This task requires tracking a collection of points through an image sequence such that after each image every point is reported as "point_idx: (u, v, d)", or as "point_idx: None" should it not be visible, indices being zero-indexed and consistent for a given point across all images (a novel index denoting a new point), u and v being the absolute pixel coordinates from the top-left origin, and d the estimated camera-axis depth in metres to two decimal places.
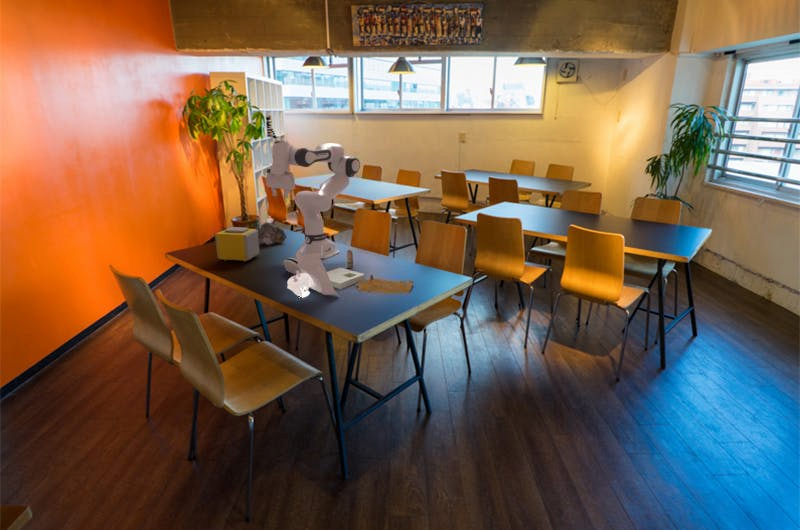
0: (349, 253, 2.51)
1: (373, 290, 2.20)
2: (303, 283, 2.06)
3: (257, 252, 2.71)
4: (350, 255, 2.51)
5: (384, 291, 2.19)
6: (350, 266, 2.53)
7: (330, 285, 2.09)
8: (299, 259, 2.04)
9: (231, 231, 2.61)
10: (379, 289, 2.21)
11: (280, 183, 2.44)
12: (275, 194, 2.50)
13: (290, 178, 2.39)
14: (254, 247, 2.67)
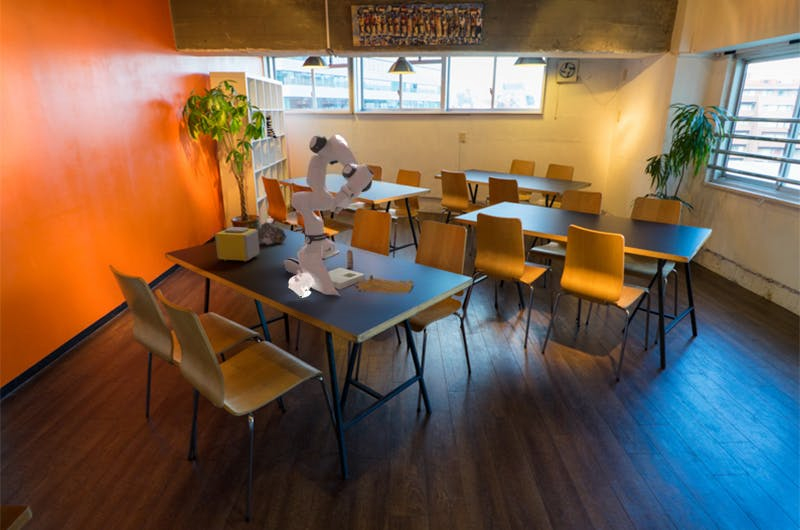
0: (349, 253, 2.51)
1: (373, 290, 2.20)
2: (304, 283, 2.06)
3: (257, 252, 2.71)
4: (350, 255, 2.51)
5: (384, 291, 2.19)
6: (350, 266, 2.53)
7: (331, 285, 2.09)
8: (300, 259, 2.04)
9: (231, 231, 2.61)
10: (379, 289, 2.21)
11: (345, 204, 2.40)
12: None
13: None
14: (254, 247, 2.67)
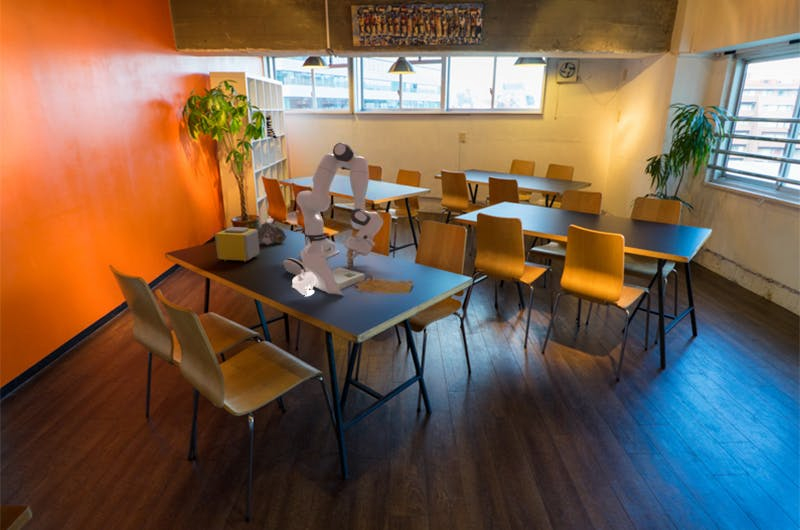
0: (349, 253, 2.51)
1: (373, 290, 2.20)
2: (308, 282, 2.07)
3: (257, 252, 2.71)
4: (350, 255, 2.51)
5: (384, 291, 2.19)
6: (350, 266, 2.53)
7: (335, 284, 2.10)
8: (304, 258, 2.06)
9: (231, 231, 2.61)
10: (379, 289, 2.21)
11: None
12: None
13: None
14: (254, 247, 2.67)
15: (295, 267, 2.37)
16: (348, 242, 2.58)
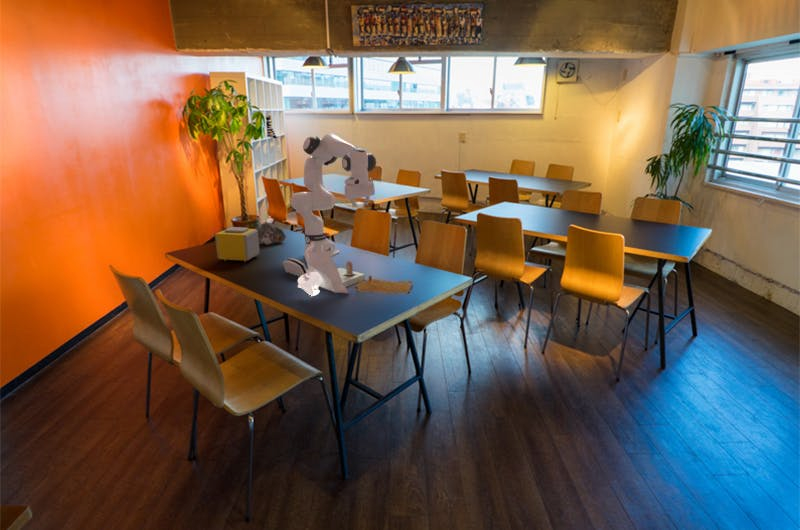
0: (348, 265, 2.30)
1: (372, 291, 2.20)
2: (314, 281, 2.08)
3: (257, 252, 2.71)
4: (349, 267, 2.30)
5: (384, 292, 2.18)
6: None
7: (340, 283, 2.12)
8: (310, 258, 2.06)
9: (231, 231, 2.61)
10: (378, 289, 2.21)
11: (365, 191, 2.43)
12: None
13: None
14: (254, 247, 2.67)
15: (295, 267, 2.37)
16: None
